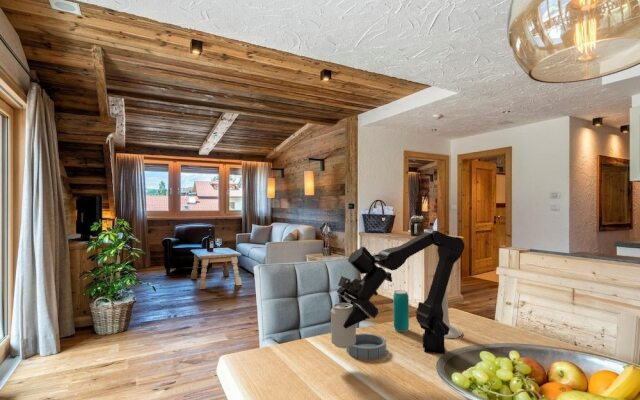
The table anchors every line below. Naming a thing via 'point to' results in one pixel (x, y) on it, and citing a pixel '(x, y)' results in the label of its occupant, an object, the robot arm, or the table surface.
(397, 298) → the beverage can
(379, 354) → the bowl
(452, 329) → the candlestick
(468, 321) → the table surface
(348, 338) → the can
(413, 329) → the table surface
